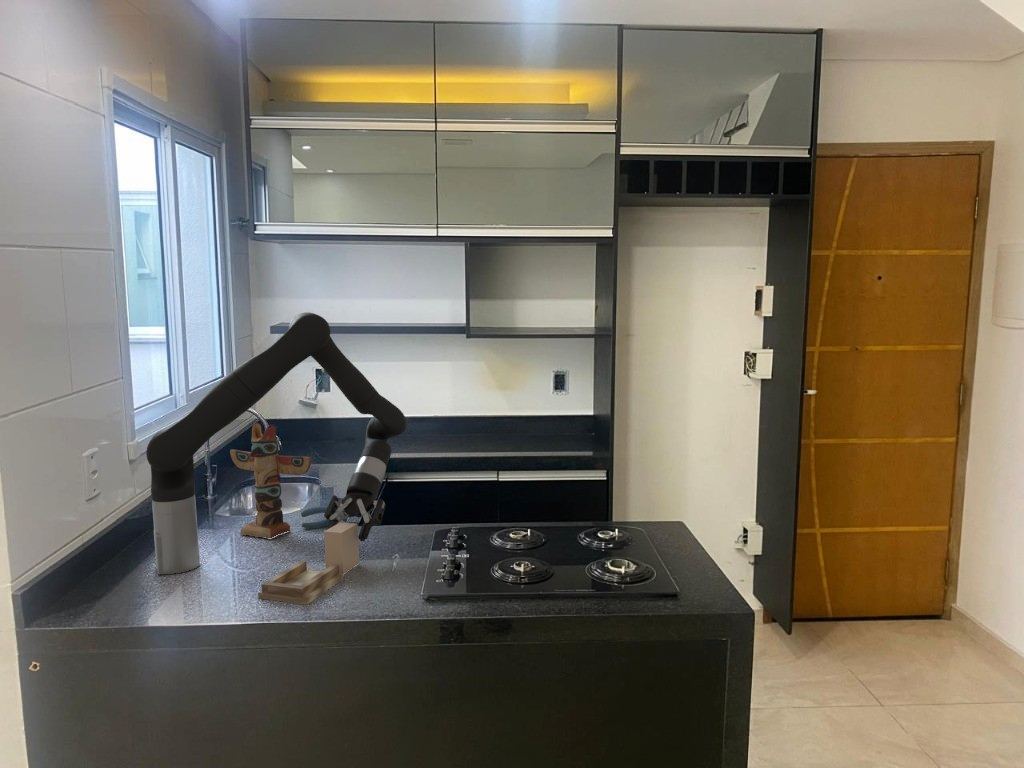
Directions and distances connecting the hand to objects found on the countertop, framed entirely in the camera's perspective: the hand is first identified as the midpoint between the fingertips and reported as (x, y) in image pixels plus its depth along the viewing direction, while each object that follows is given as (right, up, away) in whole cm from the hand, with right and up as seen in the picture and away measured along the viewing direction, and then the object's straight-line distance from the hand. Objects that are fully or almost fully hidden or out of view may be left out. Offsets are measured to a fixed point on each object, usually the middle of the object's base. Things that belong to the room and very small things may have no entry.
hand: (345, 538), depth 165 cm
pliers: (-10, -4, +33) cm, 35 cm away
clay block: (0, -7, -1) cm, 7 cm away
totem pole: (-28, -5, +27) cm, 39 cm away
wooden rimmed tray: (-7, -8, -12) cm, 16 cm away
